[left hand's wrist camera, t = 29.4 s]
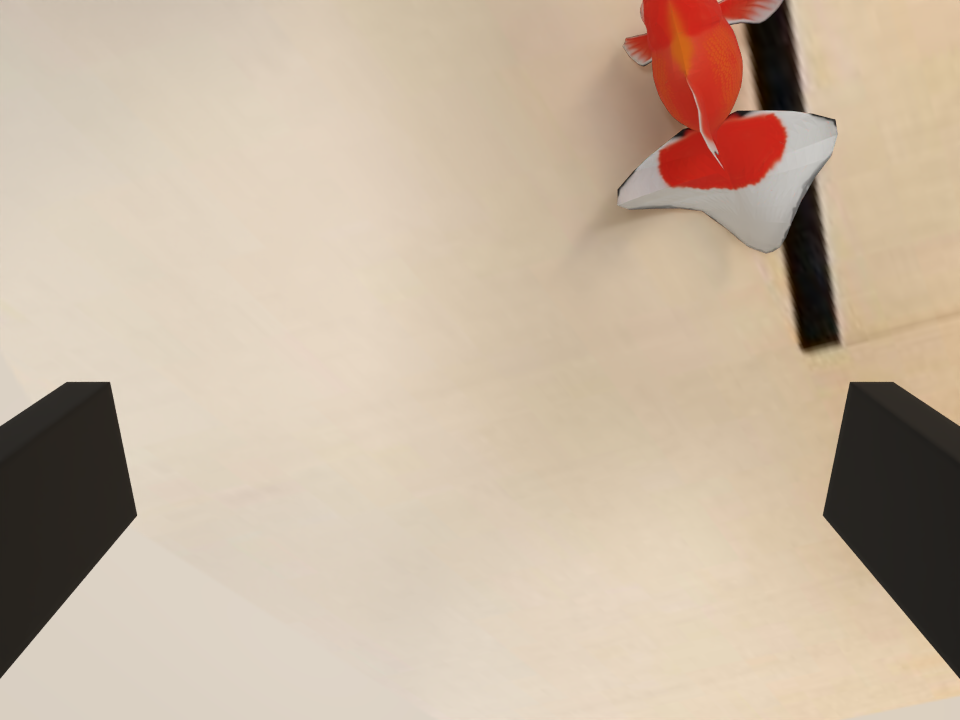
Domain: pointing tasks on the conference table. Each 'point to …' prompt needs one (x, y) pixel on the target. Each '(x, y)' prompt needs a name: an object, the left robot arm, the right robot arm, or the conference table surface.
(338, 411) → the conference table surface
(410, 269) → the conference table surface
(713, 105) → the fish
